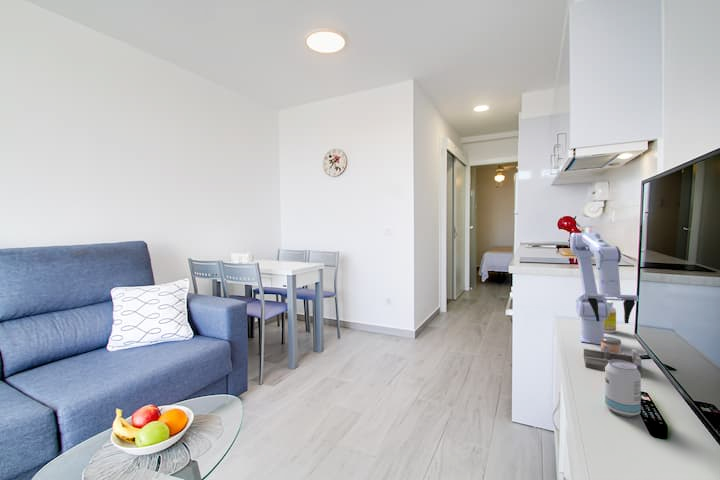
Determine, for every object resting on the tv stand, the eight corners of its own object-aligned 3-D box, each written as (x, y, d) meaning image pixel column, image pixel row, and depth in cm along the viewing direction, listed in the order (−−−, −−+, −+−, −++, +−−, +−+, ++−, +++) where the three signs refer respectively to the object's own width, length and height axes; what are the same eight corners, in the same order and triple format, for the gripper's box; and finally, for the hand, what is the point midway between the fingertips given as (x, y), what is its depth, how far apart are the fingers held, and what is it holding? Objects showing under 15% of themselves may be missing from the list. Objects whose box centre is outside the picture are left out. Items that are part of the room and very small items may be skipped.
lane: (583, 356, 114) (583, 342, 114) (635, 363, 107) (635, 348, 107) (585, 367, 106) (585, 352, 105) (641, 376, 98) (641, 360, 98)
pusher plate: (603, 357, 110) (603, 345, 109) (607, 358, 109) (607, 346, 109) (605, 364, 104) (605, 352, 104) (609, 364, 104) (609, 352, 104)
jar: (599, 352, 117) (599, 335, 117) (619, 354, 114) (619, 338, 114) (601, 357, 112) (601, 340, 112) (622, 360, 110) (622, 343, 109)
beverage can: (605, 400, 86) (605, 356, 86) (640, 409, 82) (640, 362, 81) (604, 412, 81) (604, 365, 80) (641, 422, 76) (641, 373, 76)
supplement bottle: (619, 333, 135) (619, 303, 134) (601, 333, 136) (601, 302, 136) (610, 328, 141) (610, 299, 141) (593, 328, 143) (593, 299, 142)
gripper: (584, 280, 111) (586, 321, 110) (638, 281, 104) (642, 325, 102) (582, 281, 117) (585, 319, 116) (634, 282, 110) (638, 323, 108)
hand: (612, 322), depth 109 cm, fingers open, 7 cm apart
